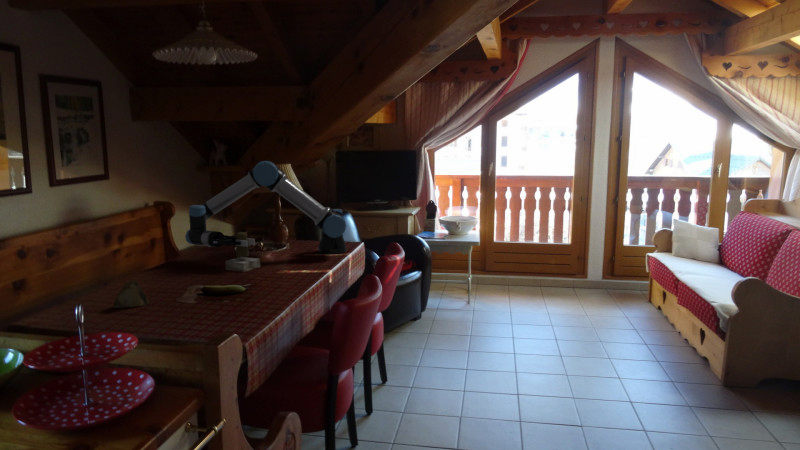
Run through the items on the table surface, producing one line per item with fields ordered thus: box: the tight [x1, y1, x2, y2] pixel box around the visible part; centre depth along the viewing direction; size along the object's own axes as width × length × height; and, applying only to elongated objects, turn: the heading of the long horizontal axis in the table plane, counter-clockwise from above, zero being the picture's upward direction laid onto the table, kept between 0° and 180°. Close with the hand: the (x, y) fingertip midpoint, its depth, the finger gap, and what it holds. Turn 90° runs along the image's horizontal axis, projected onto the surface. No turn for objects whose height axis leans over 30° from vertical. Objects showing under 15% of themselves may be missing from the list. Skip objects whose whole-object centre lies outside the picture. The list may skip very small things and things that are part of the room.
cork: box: [235, 231, 250, 258], centre depth 253 cm, size 6×6×11 cm
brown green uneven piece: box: [175, 283, 252, 304], centre depth 212 cm, size 35×27×4 cm
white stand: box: [225, 256, 261, 273], centre depth 254 cm, size 11×11×4 cm
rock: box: [112, 280, 150, 309], centre depth 196 cm, size 11×9×10 cm
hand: (250, 242), depth 250 cm, fingers closed on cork, 4 cm apart
